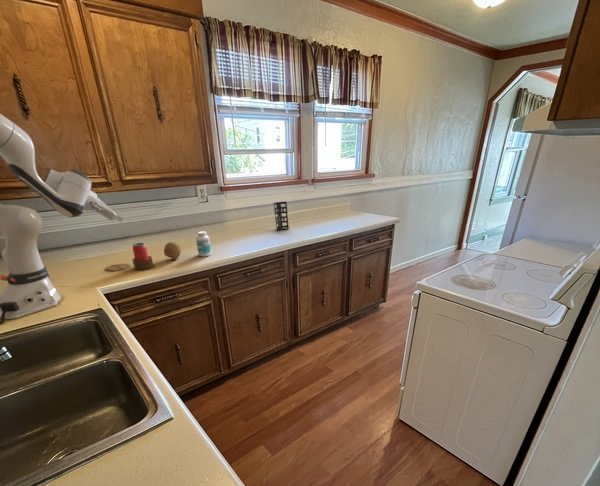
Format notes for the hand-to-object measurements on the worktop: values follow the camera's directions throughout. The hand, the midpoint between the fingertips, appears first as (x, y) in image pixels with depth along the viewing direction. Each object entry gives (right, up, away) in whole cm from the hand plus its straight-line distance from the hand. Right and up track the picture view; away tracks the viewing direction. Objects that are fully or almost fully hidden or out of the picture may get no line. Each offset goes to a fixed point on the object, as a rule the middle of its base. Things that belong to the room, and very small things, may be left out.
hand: (118, 217), depth 153 cm
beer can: (+2, -20, +21) cm, 29 cm away
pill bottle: (+29, -10, +41) cm, 51 cm away
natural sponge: (+13, -14, +34) cm, 39 cm away
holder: (+71, +22, +100) cm, 125 cm away
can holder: (+2, -20, +22) cm, 30 cm away
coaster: (-13, -20, +22) cm, 32 cm away
